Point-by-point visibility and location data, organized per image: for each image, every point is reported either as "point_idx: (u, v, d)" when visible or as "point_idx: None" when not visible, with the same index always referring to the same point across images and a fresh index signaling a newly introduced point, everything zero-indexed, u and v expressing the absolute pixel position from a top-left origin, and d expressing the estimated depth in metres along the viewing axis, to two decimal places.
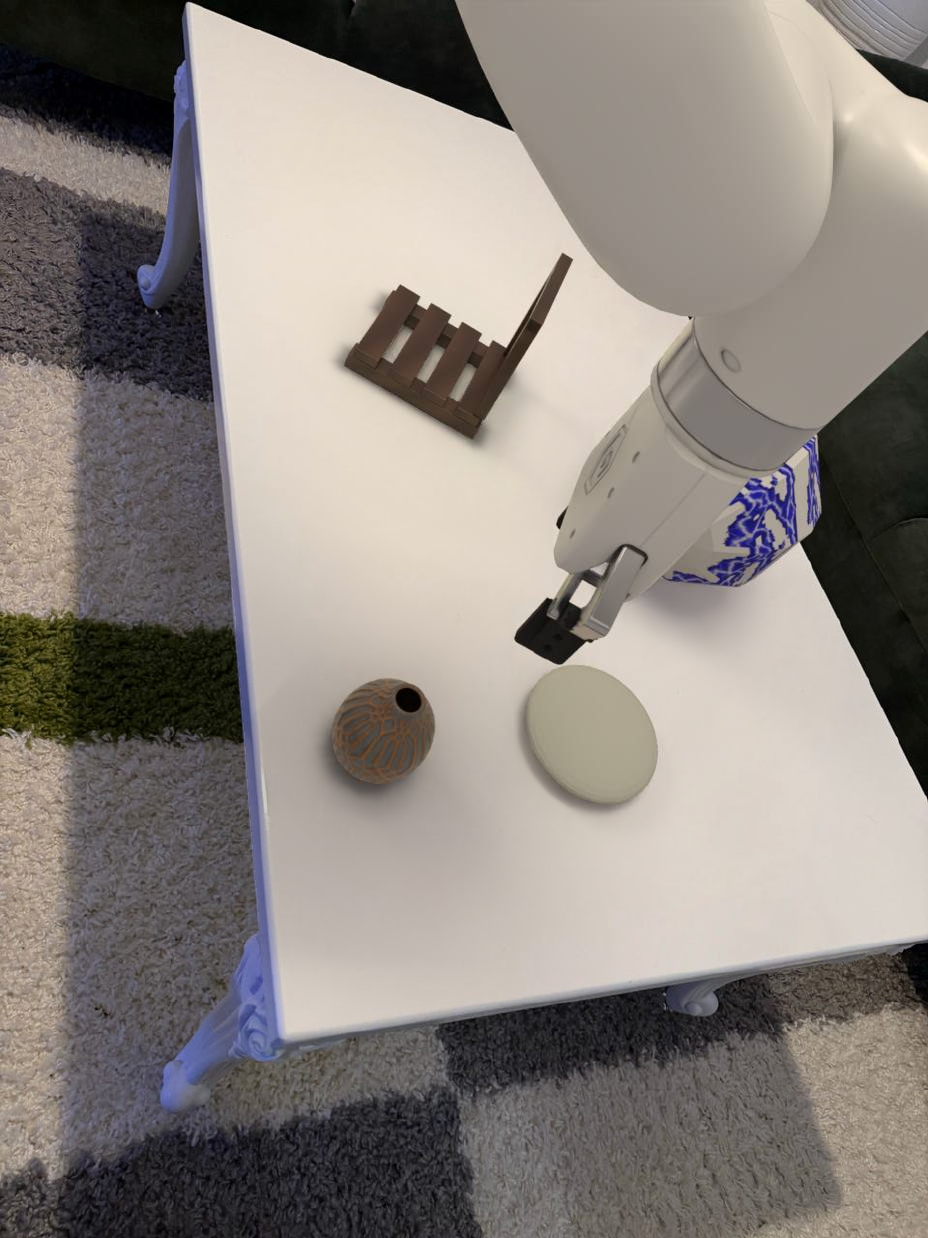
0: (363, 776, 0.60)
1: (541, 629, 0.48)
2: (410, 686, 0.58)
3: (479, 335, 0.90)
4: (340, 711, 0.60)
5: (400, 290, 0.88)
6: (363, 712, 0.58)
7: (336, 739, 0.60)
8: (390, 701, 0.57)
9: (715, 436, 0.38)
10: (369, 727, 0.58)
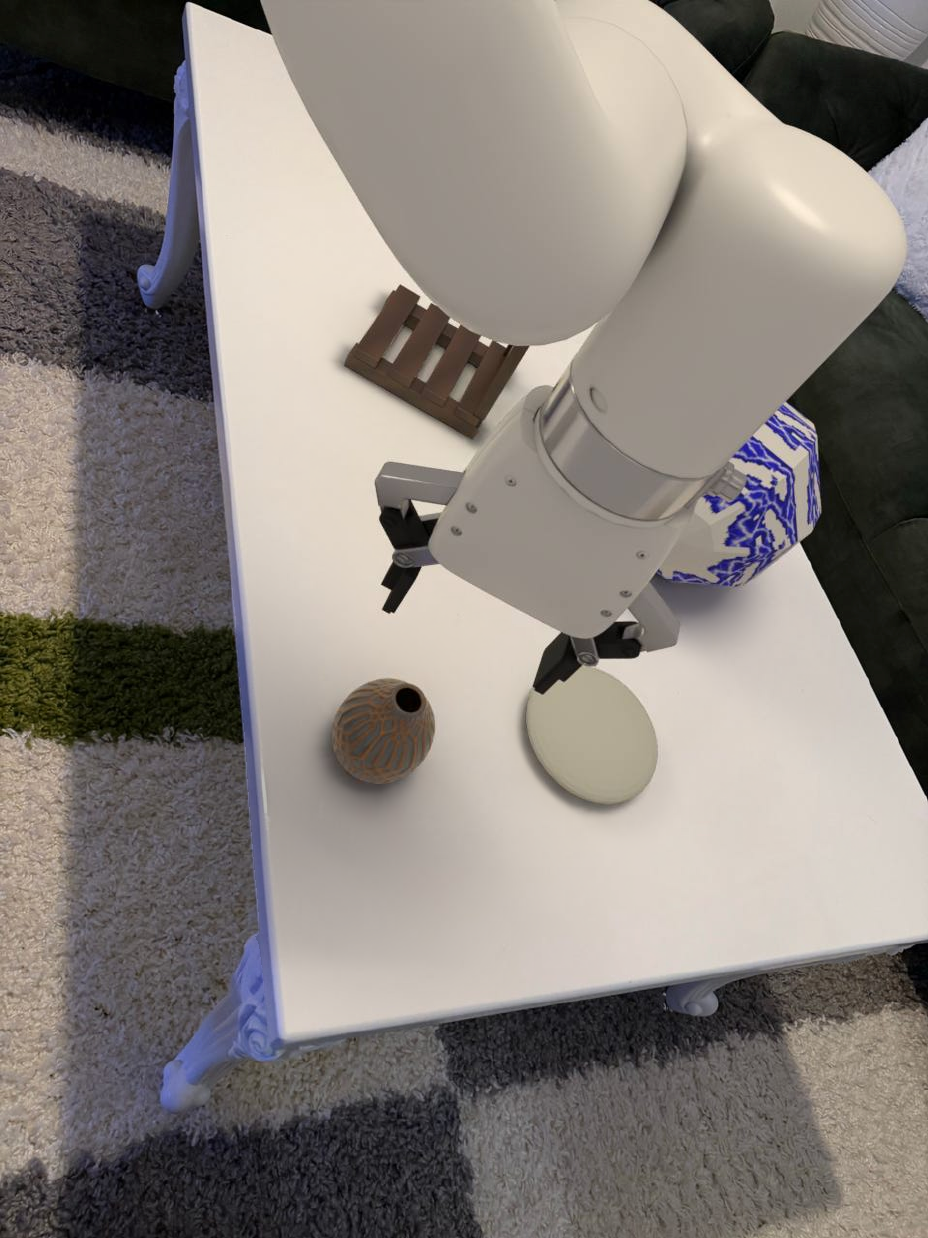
0: (363, 776, 0.60)
1: None
2: (410, 686, 0.58)
3: (479, 335, 0.90)
4: (340, 711, 0.60)
5: (400, 290, 0.88)
6: (363, 712, 0.58)
7: (336, 739, 0.60)
8: (390, 701, 0.57)
9: None
10: (369, 727, 0.58)
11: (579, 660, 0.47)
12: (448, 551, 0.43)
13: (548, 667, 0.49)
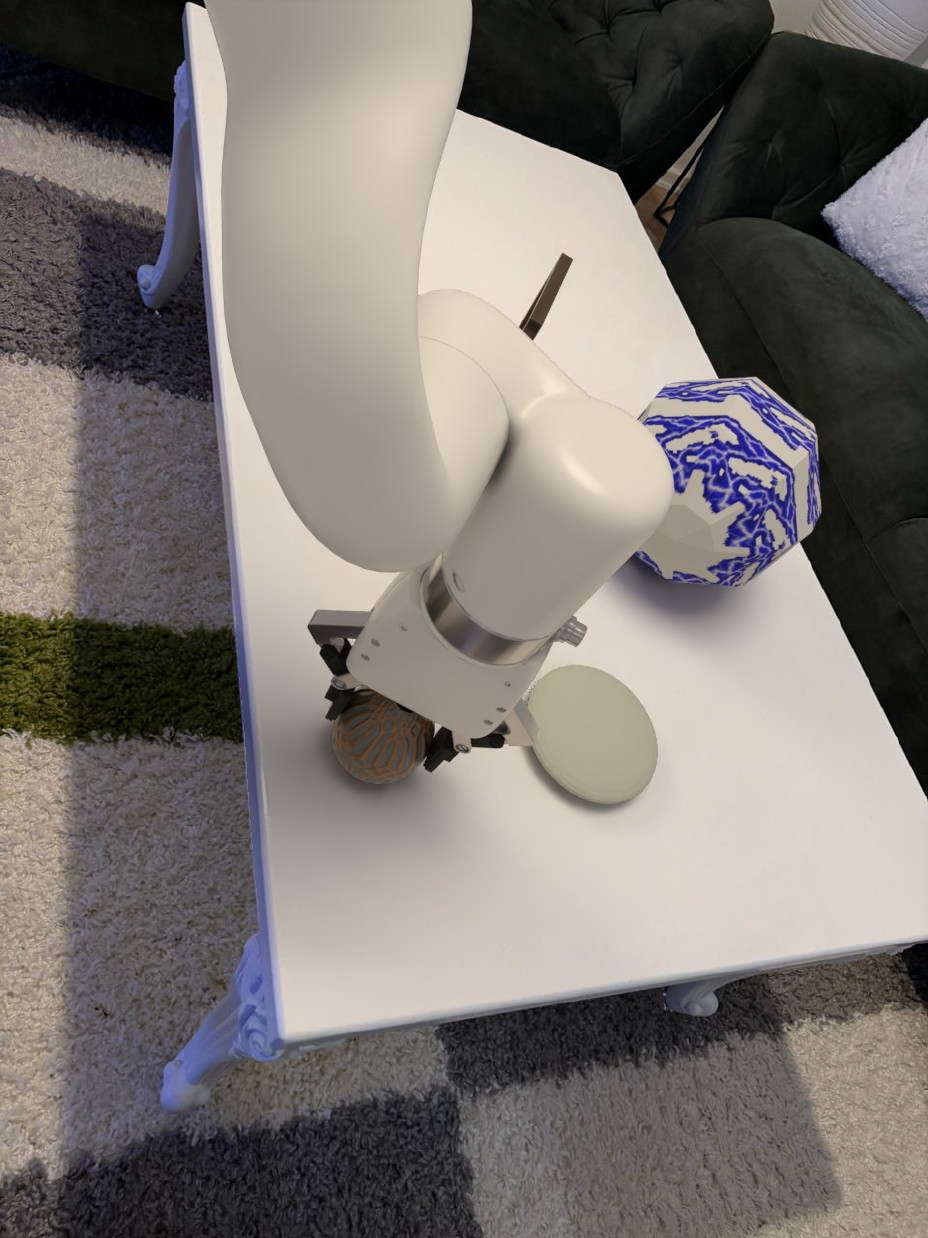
0: (363, 776, 0.60)
1: None
2: None
3: None
4: None
5: None
6: (363, 712, 0.58)
7: (336, 739, 0.60)
8: (390, 701, 0.57)
9: None
10: (369, 727, 0.58)
11: (456, 748, 0.58)
12: (361, 670, 0.53)
13: (434, 751, 0.59)
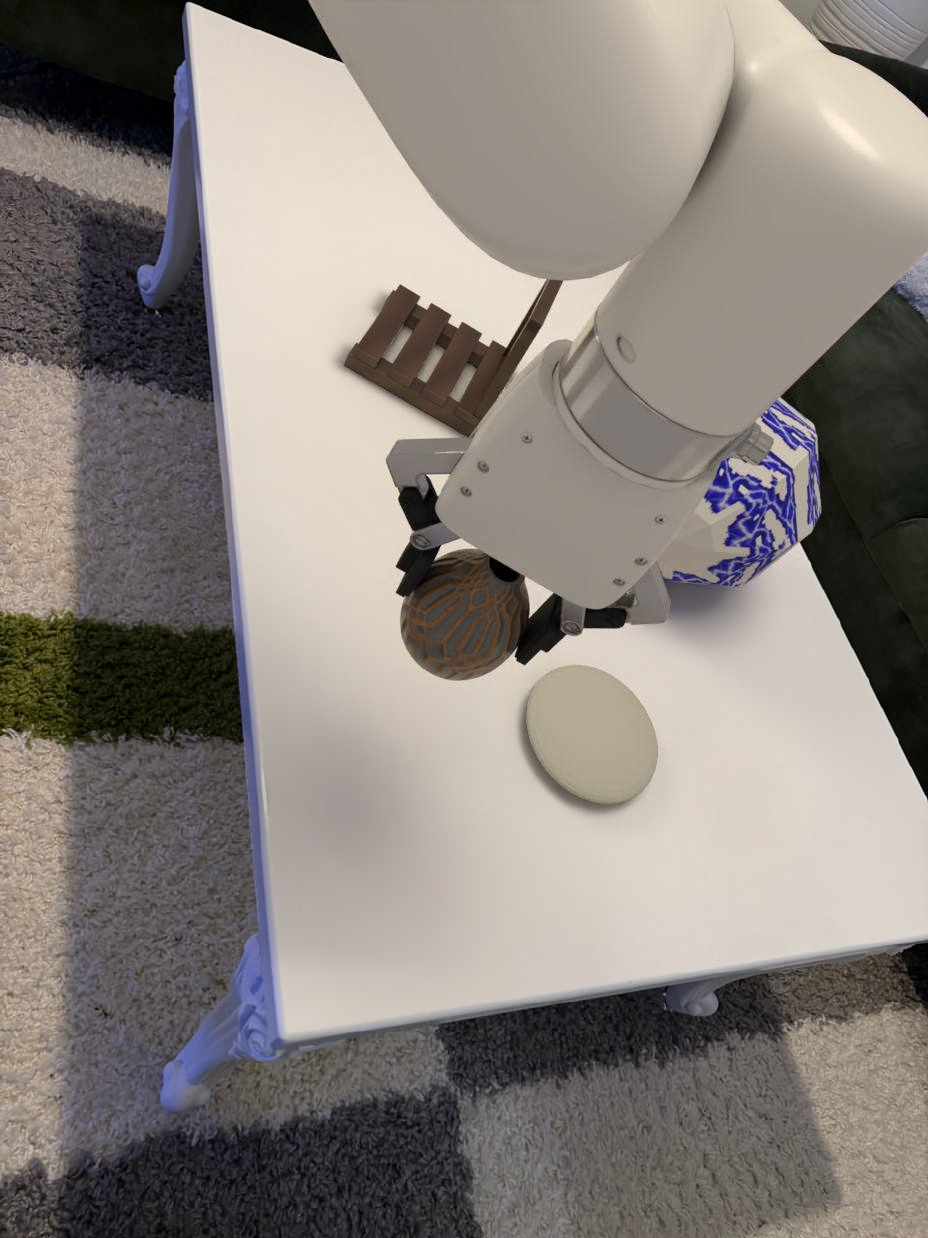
0: (441, 667, 0.48)
1: None
2: None
3: (479, 335, 0.90)
4: None
5: (400, 290, 0.88)
6: (446, 583, 0.46)
7: (408, 621, 0.48)
8: (482, 567, 0.45)
9: None
10: (455, 601, 0.46)
11: (563, 629, 0.46)
12: (456, 513, 0.41)
13: (531, 637, 0.48)
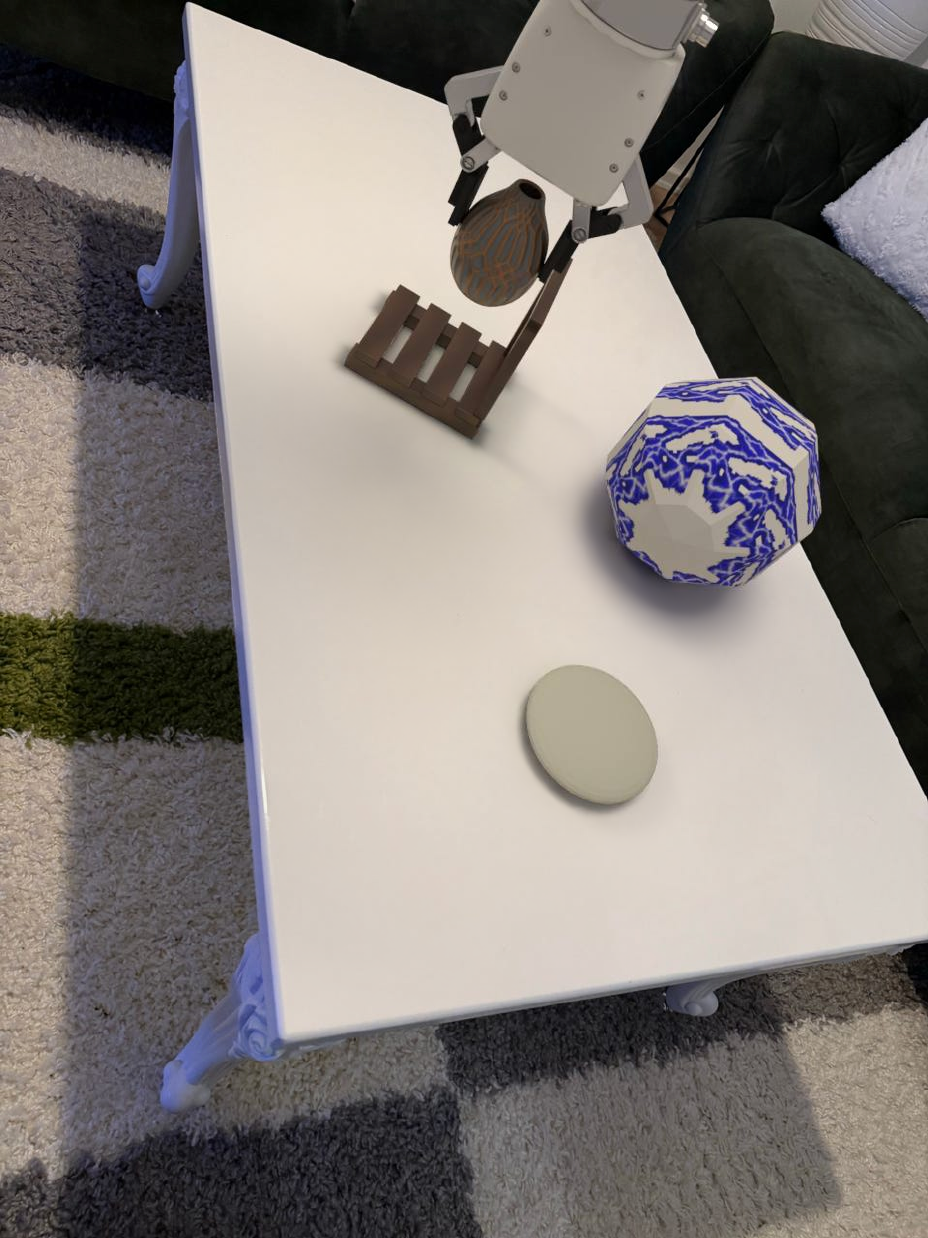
0: (482, 281, 0.64)
1: None
2: (531, 182, 0.62)
3: (479, 335, 0.90)
4: (461, 221, 0.64)
5: (400, 290, 0.88)
6: (486, 206, 0.62)
7: (457, 246, 0.64)
8: (514, 188, 0.61)
9: None
10: (493, 217, 0.62)
11: (573, 237, 0.62)
12: (496, 120, 0.57)
13: None
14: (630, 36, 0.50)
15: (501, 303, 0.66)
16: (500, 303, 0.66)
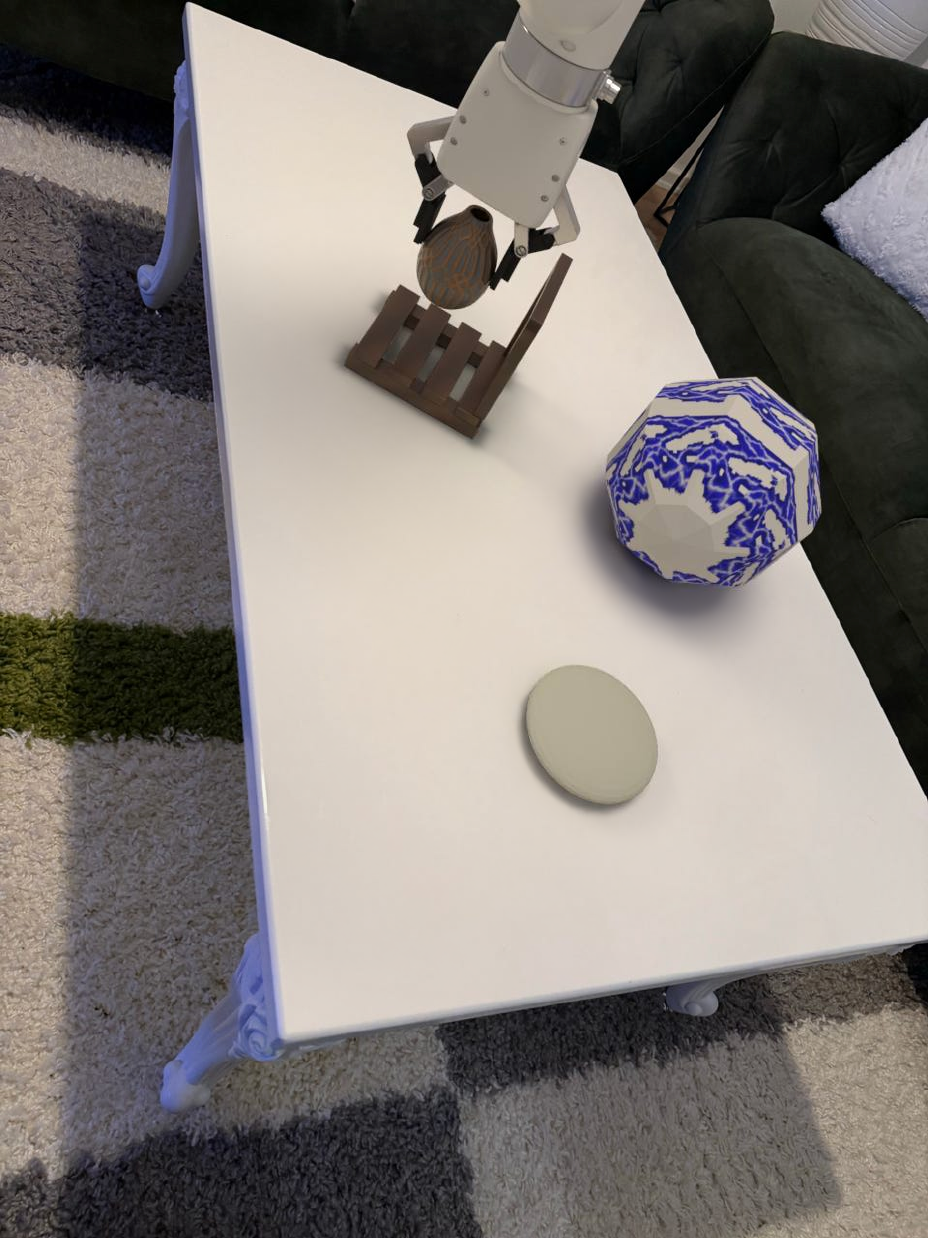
0: (442, 289, 0.77)
1: None
2: (481, 207, 0.75)
3: (479, 335, 0.90)
4: None
5: (400, 290, 0.88)
6: (444, 228, 0.75)
7: (421, 260, 0.77)
8: (466, 212, 0.74)
9: None
10: (450, 236, 0.75)
11: (516, 253, 0.75)
12: (448, 160, 0.70)
13: None
14: (550, 98, 0.63)
15: (459, 306, 0.79)
16: (459, 306, 0.79)
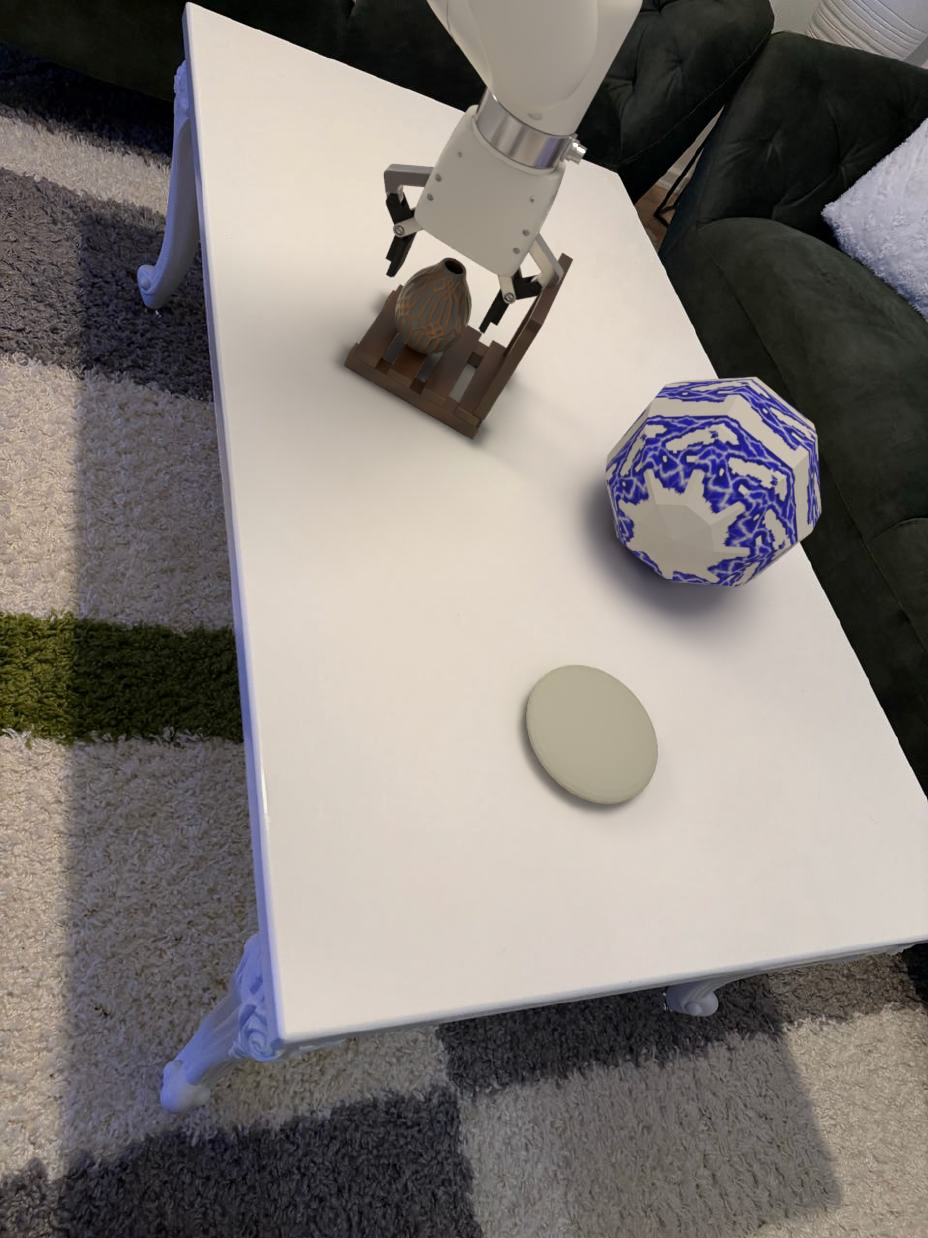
0: (419, 336, 0.82)
1: None
2: (454, 259, 0.80)
3: (479, 335, 0.90)
4: (402, 289, 0.82)
5: (400, 290, 0.88)
6: (420, 279, 0.80)
7: (399, 308, 0.81)
8: (440, 265, 0.79)
9: None
10: (425, 287, 0.79)
11: (504, 299, 0.78)
12: (425, 214, 0.74)
13: None
14: (519, 161, 0.67)
15: (436, 351, 0.84)
16: (435, 352, 0.84)
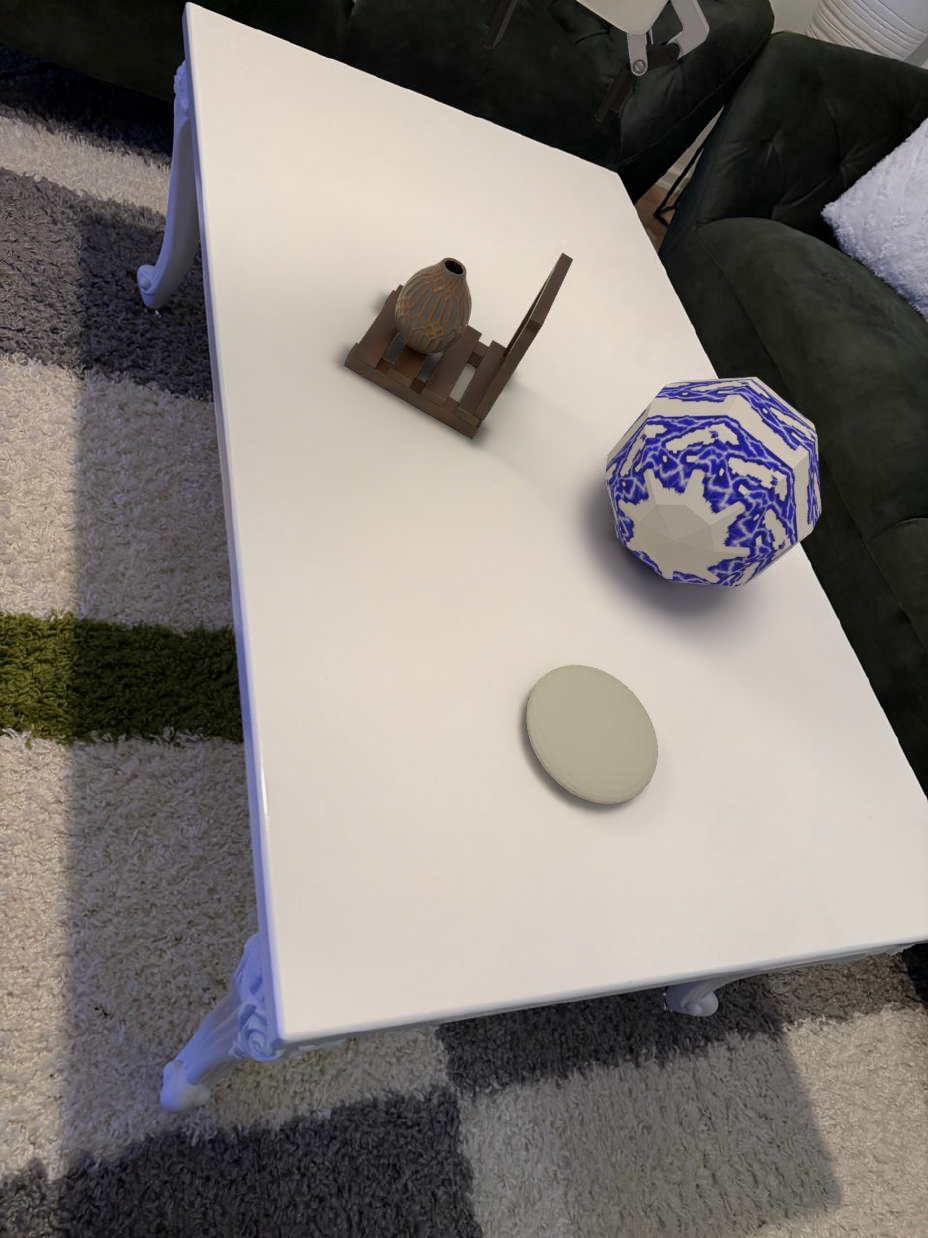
0: (419, 336, 0.82)
1: None
2: (454, 259, 0.80)
3: (479, 335, 0.90)
4: (402, 289, 0.82)
5: (400, 290, 0.88)
6: (420, 279, 0.80)
7: (399, 308, 0.81)
8: (440, 265, 0.79)
9: None
10: (425, 287, 0.79)
11: (632, 69, 0.63)
12: None
13: None
14: None
15: (436, 351, 0.84)
16: (435, 352, 0.84)
